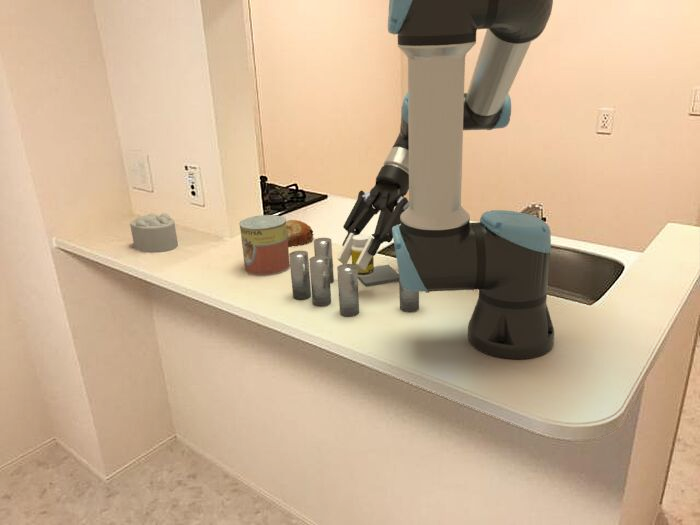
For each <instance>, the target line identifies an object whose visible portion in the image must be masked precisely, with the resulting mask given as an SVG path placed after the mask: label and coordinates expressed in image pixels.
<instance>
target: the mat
mask: <svg viewBox="0 0 700 525" xmlns="http://www.w3.org/2000/svg"><path fill="white" fill-rule="evenodd" d="M358 281H359V282H360V283H361V284H362V285H363V286H364V287H365V288H366V287H367V288H368V287H374V286H379V285H384V284H385V285H386V284H390V283H395V282H399V272H397V271H396V270H395V269H394V268H393V267H392V265H390V264H384V265H377V266H374V274H373V275H371V276H369V277H358Z"/></svg>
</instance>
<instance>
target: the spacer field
mask: <svg viewBox="0 0 700 525" xmlns="http://www.w3.org/2000/svg"><path fill="white" fill-rule="evenodd" d="M332 245H333V243H332V238H330V237H318V238H315V239H314V240H313V249H314V250H313V251H314V256H312V257H310V258H309V252H308V251H306V250H294V251H291V252H290V253H289V263H290V268H289V269H290V279H291V289H292V299H294V300H296V301H305V300H306V301H307V300H309V299H310V298H311V300H312V305H313V306H314V307H319V308H324V307H328V306H330V305H331V304H332V291H331V284H333V283H334V282H335V277H334V276H335V275H334V261H333V259H334V258H333V246H332ZM336 268H337V269H336V272H337V273H336V274H337V284H338V285H337V287H338V288H337V289H338V302H339V303H338V304H339V305H338V306H339V315H340V316H342V317H345V318H352V317H356V316H358V315H359V314H360V299H359V279H358V272H357V266H356V265H354V264H352V263H347V264H342V263H341V264H340V265H338V266H337V267H336ZM398 283H399V284H398V287H399V288H398V290H399V292H398V293H399V296H398V298H399V310H400V311H401V312H403V313H408V314H409V313H415V312H418V311H419V310H420V291H407V290H405V289H404V288H403V287H402V285H401V282H400V277H399V281H398Z"/></svg>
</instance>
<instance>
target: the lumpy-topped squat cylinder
mask: <svg viewBox="0 0 700 525" xmlns="http://www.w3.org/2000/svg"><path fill="white" fill-rule="evenodd" d="M175 224H176V223H175V219H174V218H171V217H170V215H169V214H168V213H161V214H159V215H158V214H155V213H149V214H146V215H141V216H138V217H136V219H135V220H132V221H131V222H130V224H129V226H130V231H131V237H132V242H133V247H134V249H136V250H137V251H140V252H143V253H153V254H155V253H156V254H157V253H166V252H171V251H173V250H175V249H177V247H178V246H179V242H178V236H177V229H176V225H175Z"/></svg>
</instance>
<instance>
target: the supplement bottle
mask: <svg viewBox="0 0 700 525" xmlns="http://www.w3.org/2000/svg"><path fill="white" fill-rule="evenodd" d="M369 237H372V235H370V234H366V233H365V234H363V233H360V234H359V235H355V236H353V238H352V239H353V244H354V245H352V247H351V254H352V255H351V264H354V265H356V266H357V272H358V277H369V276H371V275H373V274H374V267H375V266H374V264H375V261H374V260H375V259H374V256H372V257H371V259H370V261H369V263H368V265H367V267H366V269H365V270H362V269H361V268H360V267H359V266H358V265H357V264H356V262H357V260H358V258H359V256H360V254H361V252H362V251H363V249H364V247H365V245H366V243H367V241H368V239H369Z"/></svg>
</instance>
